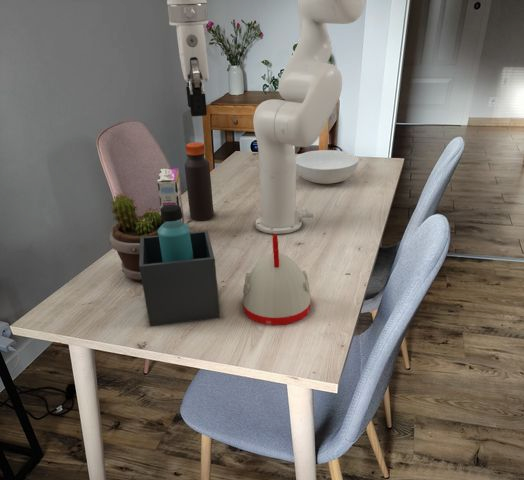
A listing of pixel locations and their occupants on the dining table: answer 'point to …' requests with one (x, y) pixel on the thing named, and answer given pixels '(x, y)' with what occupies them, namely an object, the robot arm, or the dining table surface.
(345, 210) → the dining table surface
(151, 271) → the waste bin
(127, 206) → the flowerpot
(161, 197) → the candy bar box
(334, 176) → the serving bowl
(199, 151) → the vinegar
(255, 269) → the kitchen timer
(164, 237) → the beverage bottle
